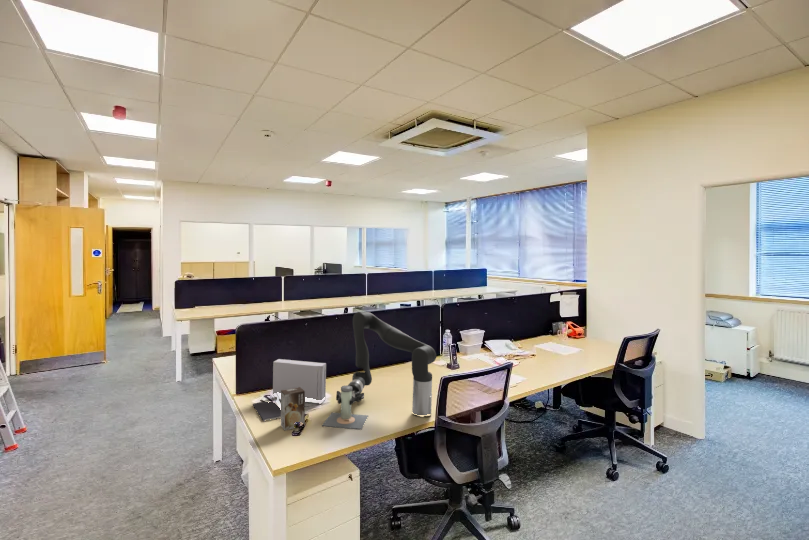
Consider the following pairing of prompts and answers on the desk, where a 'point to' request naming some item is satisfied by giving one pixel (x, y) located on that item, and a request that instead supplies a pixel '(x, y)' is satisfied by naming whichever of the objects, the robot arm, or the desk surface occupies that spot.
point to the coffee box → (292, 407)
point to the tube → (346, 402)
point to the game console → (300, 377)
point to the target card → (345, 421)
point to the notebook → (267, 410)
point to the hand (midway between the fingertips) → (344, 402)
